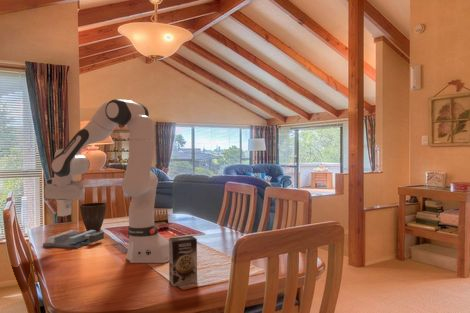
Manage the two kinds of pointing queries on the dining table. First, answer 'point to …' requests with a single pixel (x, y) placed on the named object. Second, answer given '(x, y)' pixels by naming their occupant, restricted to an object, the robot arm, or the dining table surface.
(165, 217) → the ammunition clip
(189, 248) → the coffee box
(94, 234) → the vise jaw
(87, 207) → the plant pot
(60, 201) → the block
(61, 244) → the vise bed
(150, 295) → the dining table surface
